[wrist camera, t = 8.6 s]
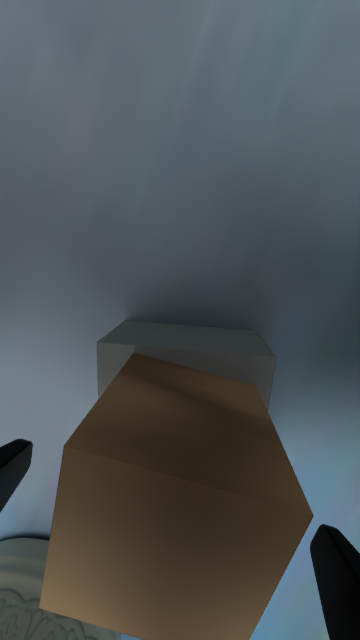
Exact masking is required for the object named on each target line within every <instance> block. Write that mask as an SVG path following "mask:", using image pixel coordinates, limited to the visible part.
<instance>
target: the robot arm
mask: <svg viewBox="0 0 360 640" xmlns="http://www.w3.org/2000/svg"><path fill="white" fill-rule="evenodd" d="M32 448H33V444H32V442H31V441H28V440H24V439H16V440H14V441H12V442H10V443H8V444H6V445H4V446H2V447H0V512H1V511H2V509H3V508H4V506H5V505H6V503H7V502H8V500H9V499H10V497H11V495H12V494H13V492H14V491H15V489H16V488H17V486H18V485H19V483H20V482H21V480H22V479H23V477H24V476H25V474H26V472H27V471H28V469H29V467H30V464H31V457H32ZM310 552H311V558H312V562H313V567H314V572H315V577H316V581H317V586H318V591H319V595H320V600H321V605H322V610H323V614H324V618H325V623H326V627H327V631H328V635H329V638H330V640H360V553H359V552H358V551H357V550H356V549H355V548H354V547H353V545H352V544H351V543H350V542H349V541H348V540H347V539H346V538H345V537H344V535H343V534H342V533H341V532H340V531H339V530H338V529H337V528H335V527H332V526H328V525H325V524H322V525H320V526H319V528H318V530H317V532H316V534H315V535H314V537H313V539H312V541H311V544H310Z"/></svg>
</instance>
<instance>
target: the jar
mask: <svg viewBox="0 0 360 640" xmlns="http://www.w3.org/2000/svg"><path fill="white" fill-rule="evenodd" d="M48 547H49V541H48V540H43V539H36V538H14V539H8V540H4V541H0V640H120V632H117V631H113V630H110V629H107V628H103V627H100V626H97V625H93V624H90V623H87V622H83V621H80V620H77V619H73V618H70V617H67V616H63V615H60V614H57V613H53V612H50V611H47V610H43V609H40V608H39V606H40V599H41V593H42V586H43V580H44V573H45V567H46V560H47V554H48Z"/></svg>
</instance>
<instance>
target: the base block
mask: <svg viewBox="0 0 360 640" xmlns="http://www.w3.org/2000/svg"><path fill="white" fill-rule="evenodd" d="M133 353H138V354H142V355H145V356H149V357H153V358H156V359H160V360H164V361H167V362H171V363H175V364H179V365H182V366H186V367H190V368H193V369H197V370H201V371H204V372H208V373H212V374H215V375H219V376H223V377H226V378H230V379H234V380H238V381H241V382H245V383H249V384H252V385H256V386H257V389H258V391H259V393H260V395H261V398H262V400H263V402H264V405H265V407H266V409H267V411H268V405H269V399H270V393H271V387H272V381H273V374H274V368H275V362H276V356H275V355H274V354H273V352H272V351H271V350H270V348H269V347H268V346H267V345H266V343H265V342H264V341H263V340H262V338H261V337H260V336H259V334H258V333H257V332H256V331H255V330H246V329H233V328H220V327H207V326H193V325H180V324H167V323H154V322H140V321H127V320H125V321H124V322H123V323H121V324H120V325H119V326H117V327H116V328H115V329H113V330H112V331H111V332H110V333H108V334H107V335H106V336H104V337H103V338H102V339H100V340H99V341H98V342H97V365H98V399H99V398H100V397H101V395H102V394H103V393H104V391H105V390H106V389H107V387H108V386H109V385H110V383H111V382H112V381H113V379H114V378H115V377H116V375H117V374H118V373H119V371H120V370H121V369H122V367H123V366H124V365H125V363H126V362H127V361H128V359H129V358H130V357H131V355H132V354H133Z"/></svg>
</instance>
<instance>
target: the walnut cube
mask: <svg viewBox="0 0 360 640" xmlns="http://www.w3.org/2000/svg"><path fill="white" fill-rule="evenodd" d="M312 518H313V513H312V511H311V509H310V507H309V504H308V502H307V500H306V498H305V495H304V493H303V491H302V488H301V486H300V484H299V482H298V479H297V477H296V475H295V473H294V470H293V468H292V466H291V463H290V461H289V459H288V457H287V454H286V452H285V450H284V448H283V445H282V443H281V441H280V439H279V436H278V434H277V432H276V429H275V427H274V425H273V423H272V420H271V418H270V416H269V414H268V411H267V409H266V407H265V405H264V402H263V400H262V398H261V395H260V393H259V391H258V389H257V386H256V385H252V384H249V383H245V382H241V381H238V380H234V379H230V378H226V377H223V376H219V375H215V374H212V373H208V372H204V371H201V370H197V369H193V368H190V367H186V366H182V365H179V364H175V363H171V362H167V361H164V360H160V359H156V358H153V357H149V356H145V355H142V354H138V353H133V354H132V355H131V357H130V358H129V359H128V361H127V362H126V363H125V365H124V366H123V367H122V369H121V370H120V371H119V373H118V374H117V375H116V377H115V378H114V379H113V381H112V382H111V383H110V385H109V386H108V387H107V389H106V390H105V391H104V393H103V394H102V395H101V397H100V398H99V399H98V401H97V402H96V403H95V405H94V406H93V407H92V409H91V410H90V411H89V413H88V414H87V415H86V417H85V418H84V419H83V421H82V422H81V423H80V425H79V426H78V427H77V429H76V430H75V431H74V433H73V434H72V435H71V437H70V438H69V439H68V441H67V442H66V443H65V445H64V449H63V455H62V462H61V469H60V475H59V482H58V488H57V495H56V501H55V508H54V514H53V521H52V527H51V534H50V540H49V547H48V554H47V560H46V567H45V573H44V580H43V586H42V593H41V599H40V606H39V608H40V609H43V610H47V611H50V612H53V613H57V614H60V615H63V616H67V617H70V618H73V619H77V620H80V621H83V622H87V623H90V624H93V625H97V626H100V627H103V628H107V629H110V630H113V631H117V632H120V633H123V634H127V635H130V636H133V637H137V638H140V639H143V640H249V639H250V637H251V635H252V633H253V632H254V630H255V628H256V626H257V624H258V622H259V620H260V618H261V616H262V614H263V612H264V610H265V608H266V607H267V605H268V603H269V601H270V599H271V597H272V595H273V593H274V591H275V589H276V587H277V585H278V584H279V582H280V580H281V578H282V576H283V574H284V572H285V570H286V568H287V566H288V564H289V562H290V560H291V559H292V557H293V555H294V553H295V551H296V549H297V547H298V545H299V543H300V541H301V539H302V537H303V536H304V534H305V532H306V530H307V528H308V526H309V524H310V522H311V520H312Z"/></svg>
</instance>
